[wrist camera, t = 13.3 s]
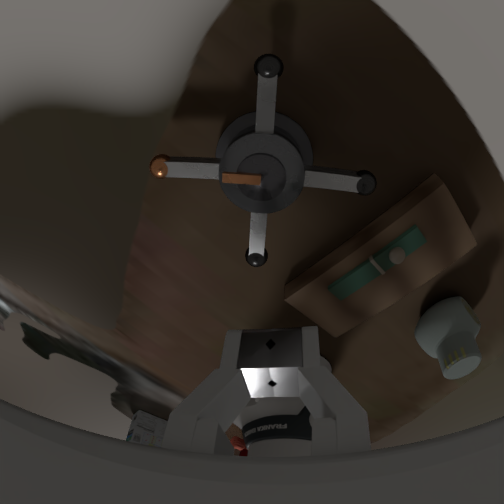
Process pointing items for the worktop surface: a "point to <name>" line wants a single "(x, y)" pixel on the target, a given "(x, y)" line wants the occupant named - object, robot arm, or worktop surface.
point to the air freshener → (450, 336)
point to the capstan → (263, 165)
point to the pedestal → (279, 121)
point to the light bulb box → (147, 429)
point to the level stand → (383, 260)
